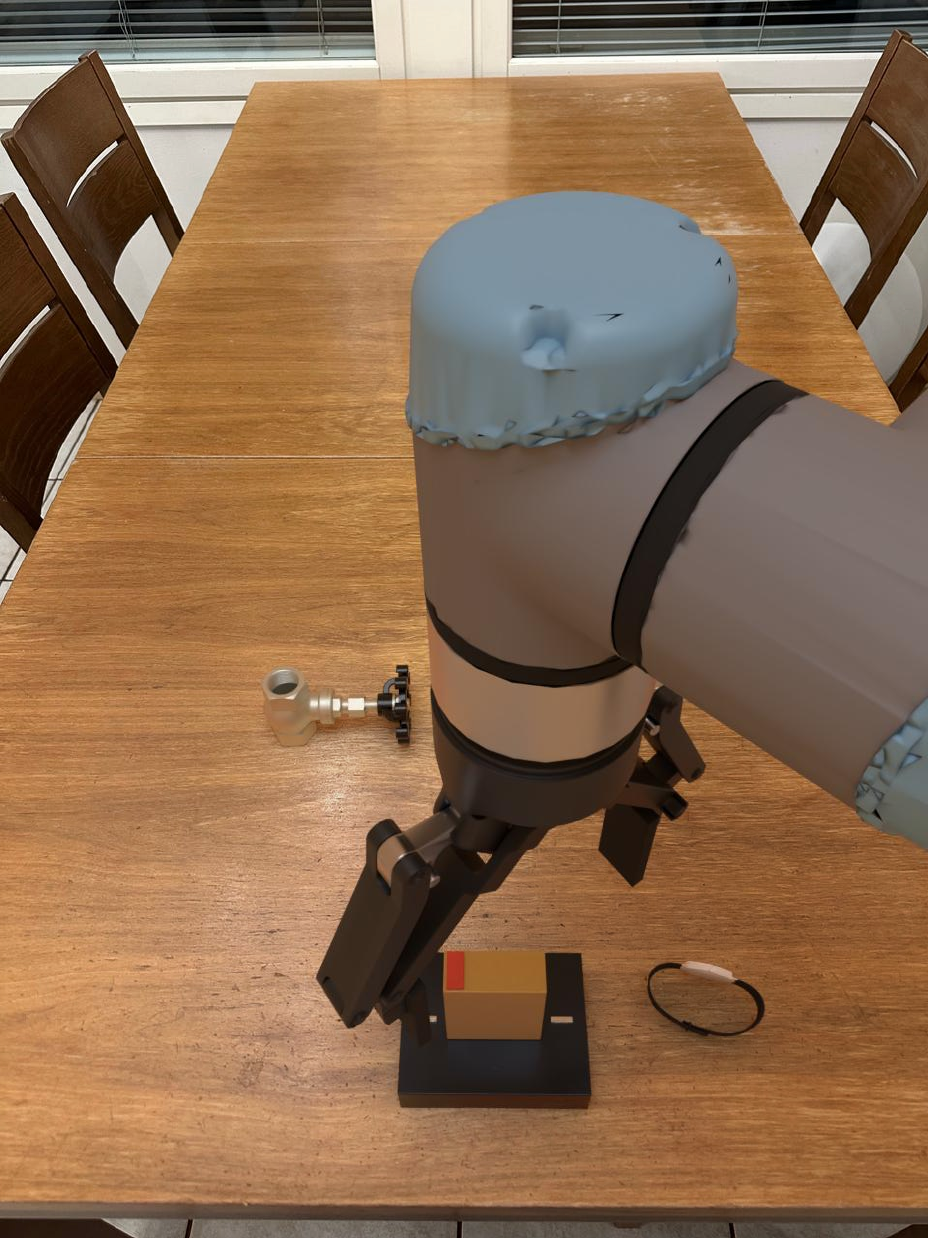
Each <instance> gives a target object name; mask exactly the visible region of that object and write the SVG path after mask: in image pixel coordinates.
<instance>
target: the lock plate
mask: <svg viewBox="0 0 928 1238" xmlns="http://www.w3.org/2000/svg"><path fill="white" fill-rule="evenodd" d="M545 963H546V984H547V995H546V1003H545V1010H544V1018H543V1026H542V1033H541V1039H540V1040H536V1039H447V1032H446V1020H445V1008H444V997H443V973H444V951H438V952H437V954H436V955H435V956H434V958H433V959H432V960H431V962H430V963H429V964H428V966H427V967H426V969H425V970H424V971H423V973H422V974H421V975H420V979H421V980H422V982H423V983H424V985H425V986H426V990H427V998H428V1007H429V1016H430V1024H431V1033H432V1039H431V1040H430V1041H429V1042H427V1043H426V1044H425V1045H424V1046H422V1047H421V1048H420V1049H419V1048H418V1046H417V1045H416V1043H415V1042H414V1040H413V1039H412V1037H411V1036H410V1034H409V1033H408V1031H407V1030H406V1029H405V1027H404V1026H403V1024H402V1023H401V1022H400V1039H399V1056H398V1057H399V1058H398V1075H397V1076H398V1078H397V1098H398V1102H399V1106H400V1108H402V1109H403V1108H404V1109H406V1108H407V1109H408V1108H410V1109H412V1108H413V1109H414V1108H415V1109H522V1110H523V1109H527V1110H529V1109H531V1110H533V1109H535V1110H536V1109H539V1110H543V1109H544V1110H588V1109H589V1106H590V1103H591V1100H592V1099H591V1098H592V1096H593V1095H592V1091H593V1090H592V1081H591V1080H592V1079H591V1068H590V1067H591V1065H590V1052H589V1039H588V1037H589V1036H588V1027H587V1026H588V1025H587V1013H586V1011H587V1010H586V1000H585V984H584V972H583V971H584V970H583V957H582V952H545Z"/></svg>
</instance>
